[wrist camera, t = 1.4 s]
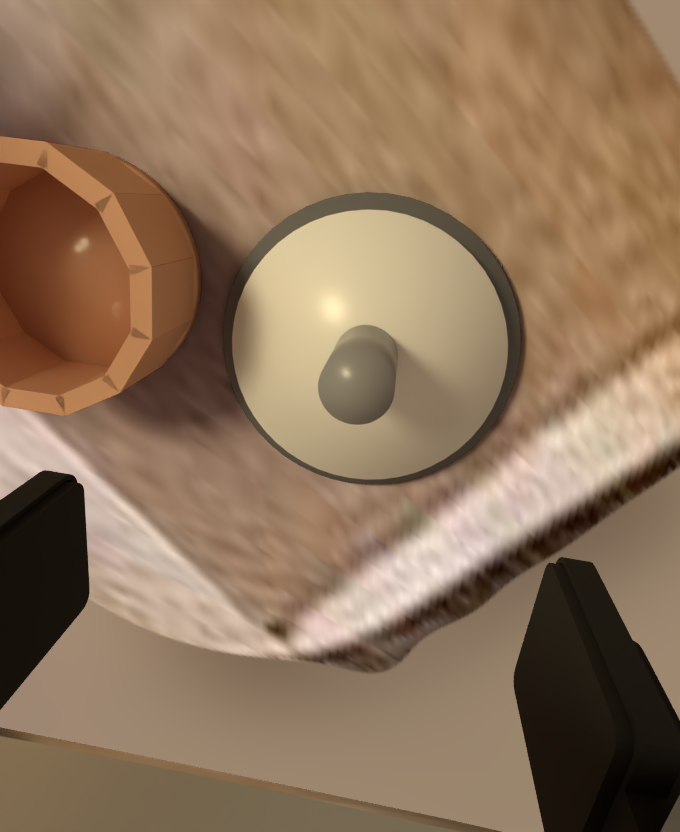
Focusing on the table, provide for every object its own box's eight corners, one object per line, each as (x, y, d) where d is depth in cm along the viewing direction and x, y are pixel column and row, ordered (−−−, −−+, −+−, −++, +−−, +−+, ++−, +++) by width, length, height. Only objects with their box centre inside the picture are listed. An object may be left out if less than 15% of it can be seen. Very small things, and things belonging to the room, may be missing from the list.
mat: (232, 174, 25) (229, 173, 25) (553, 214, 24) (555, 214, 24) (220, 458, 31) (217, 461, 30) (484, 500, 30) (484, 504, 29)
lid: (243, 192, 25) (197, 189, 20) (535, 229, 24) (570, 236, 19) (231, 451, 30) (191, 506, 24) (474, 490, 29) (488, 556, 24)
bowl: (-24, 135, 26) (-130, 118, 21) (204, 163, 25) (152, 153, 20) (1, 361, 30) (-83, 393, 25) (198, 391, 29) (153, 430, 24)
